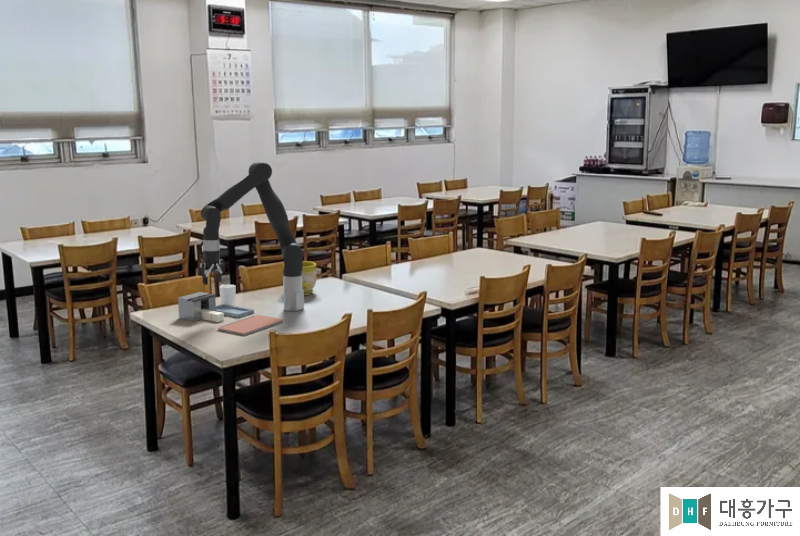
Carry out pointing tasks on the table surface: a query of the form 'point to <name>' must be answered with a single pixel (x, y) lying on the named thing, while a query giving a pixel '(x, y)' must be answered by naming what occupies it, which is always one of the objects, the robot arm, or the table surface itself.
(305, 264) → the flowerpot
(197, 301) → the dispenser
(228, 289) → the white cup
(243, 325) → the notebook
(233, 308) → the tray
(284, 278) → the robot arm
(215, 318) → the cream rectangular block
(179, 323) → the table surface
